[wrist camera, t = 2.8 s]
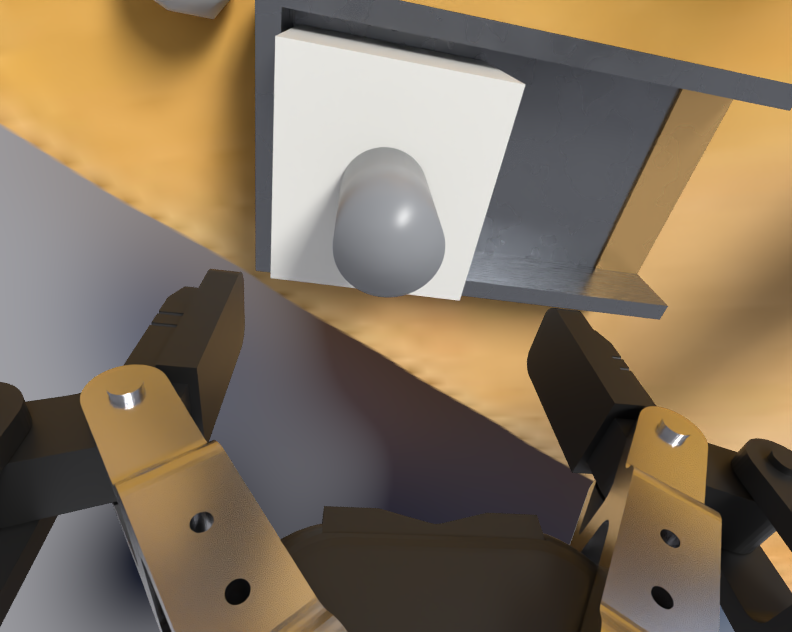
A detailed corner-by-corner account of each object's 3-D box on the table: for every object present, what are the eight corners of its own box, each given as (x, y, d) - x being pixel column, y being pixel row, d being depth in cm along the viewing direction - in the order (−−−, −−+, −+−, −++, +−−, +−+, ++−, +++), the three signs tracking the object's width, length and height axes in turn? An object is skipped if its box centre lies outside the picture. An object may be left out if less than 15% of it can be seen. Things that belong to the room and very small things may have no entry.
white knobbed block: (299, 24, 21) (240, 51, 11) (484, 61, 22) (579, 115, 12) (290, 216, 26) (246, 351, 17) (440, 237, 28) (481, 373, 18)
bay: (276, -26, 21) (254, -31, 17) (731, 71, 24) (804, 87, 20) (271, 230, 28) (255, 270, 24) (621, 277, 32) (659, 319, 28)
